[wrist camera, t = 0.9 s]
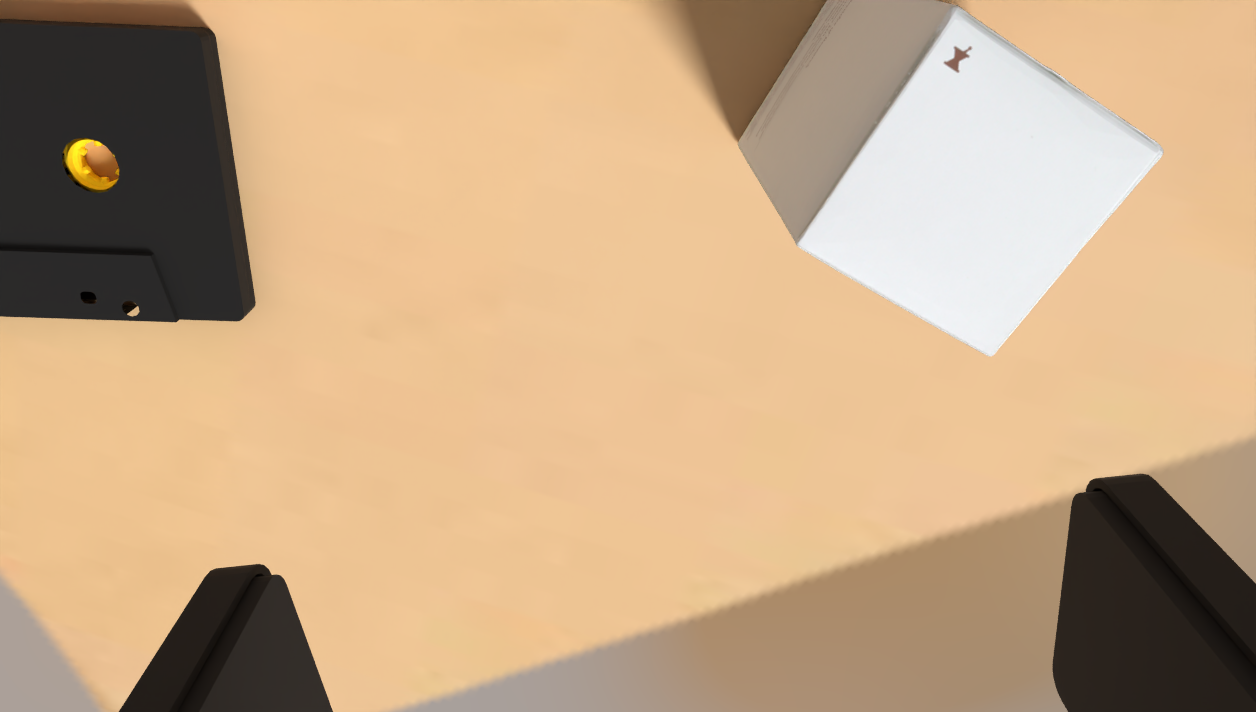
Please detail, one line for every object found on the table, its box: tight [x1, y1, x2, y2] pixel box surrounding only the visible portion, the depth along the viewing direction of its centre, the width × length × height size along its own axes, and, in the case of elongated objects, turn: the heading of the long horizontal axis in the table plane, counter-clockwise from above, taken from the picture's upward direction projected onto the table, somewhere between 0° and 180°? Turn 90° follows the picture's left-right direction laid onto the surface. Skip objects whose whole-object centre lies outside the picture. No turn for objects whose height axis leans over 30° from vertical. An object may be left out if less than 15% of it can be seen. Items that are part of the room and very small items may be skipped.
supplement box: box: [738, 0, 1163, 356], centre depth 29 cm, size 7×7×13 cm
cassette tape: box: [0, 19, 255, 322], centre depth 35 cm, size 18×12×2 cm, turn 88°
